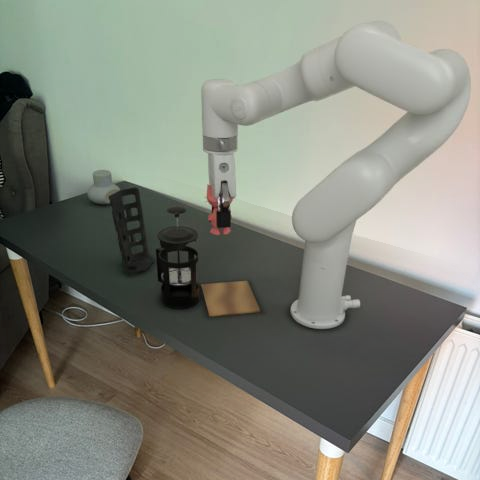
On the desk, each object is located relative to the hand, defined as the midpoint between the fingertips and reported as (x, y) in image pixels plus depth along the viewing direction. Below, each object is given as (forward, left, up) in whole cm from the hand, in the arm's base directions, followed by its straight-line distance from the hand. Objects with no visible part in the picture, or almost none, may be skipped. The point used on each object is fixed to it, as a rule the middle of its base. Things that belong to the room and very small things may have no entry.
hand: (221, 220), depth 120 cm
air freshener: (+29, -60, -17) cm, 69 cm away
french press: (+11, +5, -17) cm, 21 cm away
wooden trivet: (-1, +7, -17) cm, 19 cm away
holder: (+21, -13, -17) cm, 30 cm away
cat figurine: (0, 0, -3) cm, 3 cm away
